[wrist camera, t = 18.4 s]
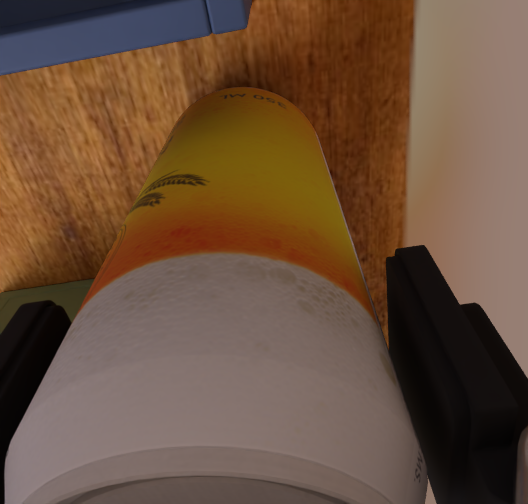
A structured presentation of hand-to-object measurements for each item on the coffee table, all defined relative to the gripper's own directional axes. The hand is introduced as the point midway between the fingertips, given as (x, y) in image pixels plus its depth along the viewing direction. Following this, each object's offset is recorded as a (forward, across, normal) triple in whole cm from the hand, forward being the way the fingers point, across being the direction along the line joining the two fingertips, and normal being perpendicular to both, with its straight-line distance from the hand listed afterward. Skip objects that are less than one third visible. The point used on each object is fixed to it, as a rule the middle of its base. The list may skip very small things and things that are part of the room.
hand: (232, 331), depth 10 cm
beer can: (+10, 0, 0) cm, 10 cm away
